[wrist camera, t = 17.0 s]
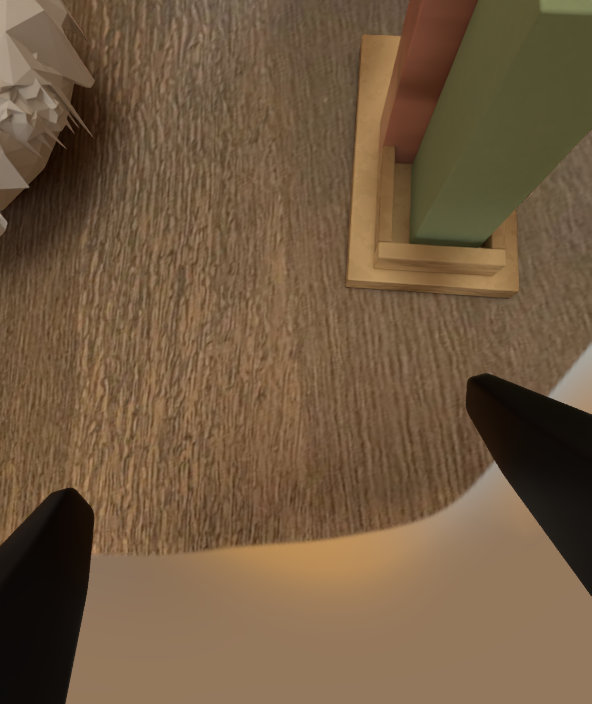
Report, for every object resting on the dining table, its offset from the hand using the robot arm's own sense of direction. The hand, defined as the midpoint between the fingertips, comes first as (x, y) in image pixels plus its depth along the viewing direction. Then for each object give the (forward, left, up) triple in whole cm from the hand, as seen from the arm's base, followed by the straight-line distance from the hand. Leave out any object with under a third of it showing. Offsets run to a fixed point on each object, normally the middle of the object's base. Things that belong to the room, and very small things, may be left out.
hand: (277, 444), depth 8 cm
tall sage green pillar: (-1, -16, -12) cm, 21 cm away
